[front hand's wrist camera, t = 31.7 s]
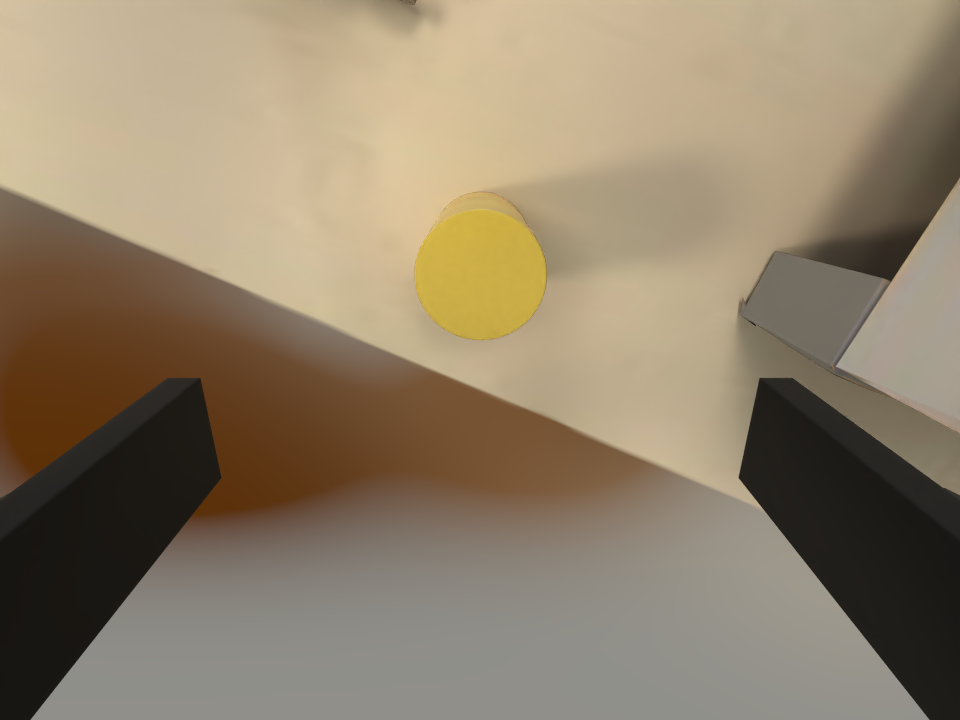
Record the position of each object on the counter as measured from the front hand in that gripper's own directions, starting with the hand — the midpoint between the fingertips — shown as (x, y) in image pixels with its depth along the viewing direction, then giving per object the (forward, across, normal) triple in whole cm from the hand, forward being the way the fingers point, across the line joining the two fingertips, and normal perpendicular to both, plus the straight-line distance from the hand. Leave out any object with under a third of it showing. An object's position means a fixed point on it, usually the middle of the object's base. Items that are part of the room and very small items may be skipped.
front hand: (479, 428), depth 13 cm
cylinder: (+28, 0, 0) cm, 29 cm away
